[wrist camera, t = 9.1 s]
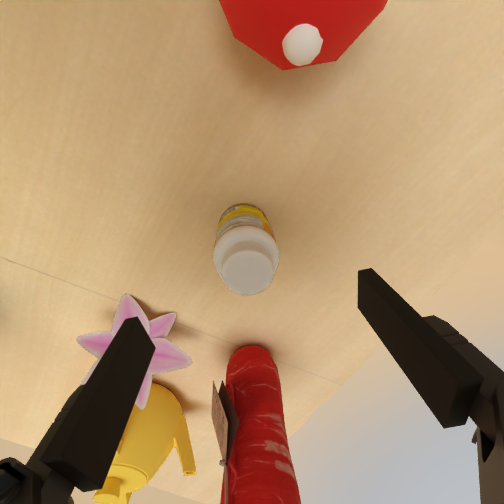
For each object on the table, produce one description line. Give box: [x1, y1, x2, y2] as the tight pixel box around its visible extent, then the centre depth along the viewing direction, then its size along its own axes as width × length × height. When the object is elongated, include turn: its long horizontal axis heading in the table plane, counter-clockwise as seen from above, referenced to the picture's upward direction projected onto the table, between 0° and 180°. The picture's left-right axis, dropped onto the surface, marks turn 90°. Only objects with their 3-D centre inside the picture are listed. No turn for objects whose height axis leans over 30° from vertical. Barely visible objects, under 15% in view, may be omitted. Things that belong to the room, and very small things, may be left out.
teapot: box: [93, 383, 196, 504], centre depth 34 cm, size 17×17×12 cm
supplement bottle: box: [213, 204, 279, 295], centre depth 21 cm, size 6×6×10 cm
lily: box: [76, 294, 192, 410], centre depth 29 cm, size 12×12×10 cm
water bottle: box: [212, 345, 301, 504], centre depth 24 cm, size 12×8×25 cm, turn 37°
